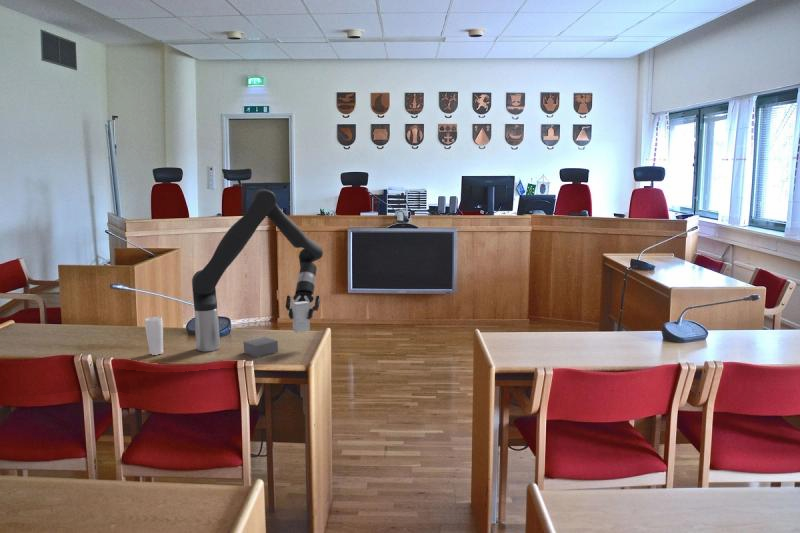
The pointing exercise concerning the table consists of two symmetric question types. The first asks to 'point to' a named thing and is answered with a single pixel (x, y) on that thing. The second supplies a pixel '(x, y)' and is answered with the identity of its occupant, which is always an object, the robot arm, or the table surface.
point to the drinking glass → (154, 334)
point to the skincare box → (300, 316)
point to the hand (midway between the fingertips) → (300, 318)
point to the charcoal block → (260, 346)
